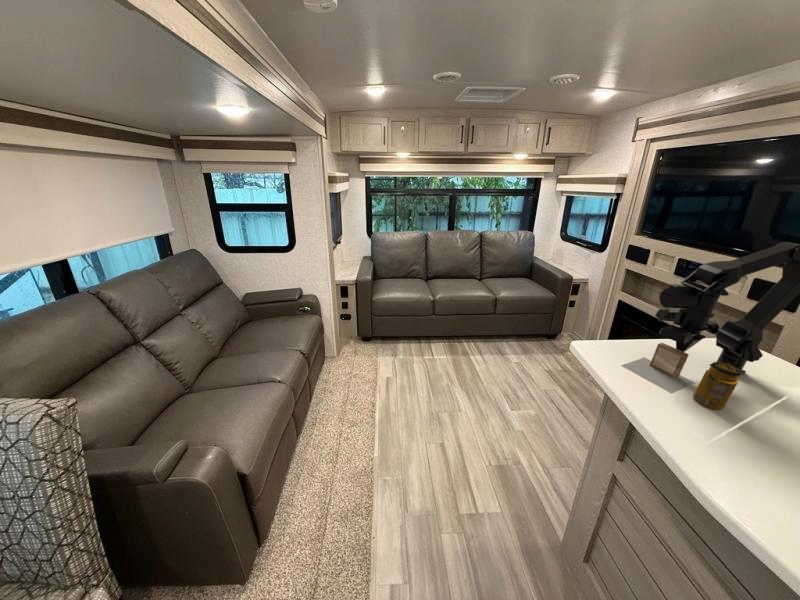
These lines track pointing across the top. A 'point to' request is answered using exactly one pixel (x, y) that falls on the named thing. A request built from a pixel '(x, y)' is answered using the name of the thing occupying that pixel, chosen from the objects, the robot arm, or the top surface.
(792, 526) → the top surface
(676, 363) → the wooden block
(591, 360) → the top surface
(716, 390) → the condiment
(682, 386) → the mat
